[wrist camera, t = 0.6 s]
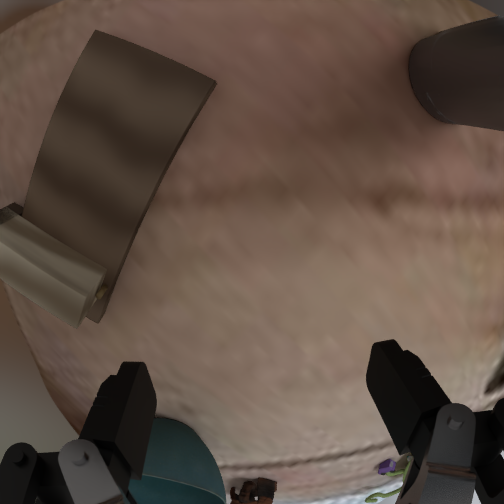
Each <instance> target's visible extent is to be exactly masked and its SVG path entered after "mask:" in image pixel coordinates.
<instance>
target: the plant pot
mask: <svg viewBox="0 0 504 504" xmlns="http://www.w3.org/2000/svg"><path fill="white" fill-rule="evenodd" d="M128 488H129V490H130V491H131V493H132V494H133V496H134V497H135V499H136V501H137V502H138V504H226V494H225V488H224V484H223V480H222V476H221V473H220V471H219V468H218V466H217V463H216V461H215V459H214V457H213V456H212V454H211V452H210V451H209V449H208V448H207V446H206V445H205V444H204V442H203V441H202V440H201V439H200V437H199V436H198V435H197V434H196V433H195V432H194V431H193V430H192V429H191V428H190V427H188V426H187V425H185V424H183V423H180V422H178V421H175V420H171V419H165V418H154V420H153V425H152V429H151V434H150V439H149V443H148V448H147V453H146V458H145V463H144V468H143V473H142V478H141V480H133V479H130V482H129V487H128Z"/></svg>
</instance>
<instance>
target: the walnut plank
mask: <svg viewBox="0 0 504 504" xmlns="http://www.w3.org/2000/svg"><path fill="white" fill-rule="evenodd" d="M216 85H217V83H216V81H215V80H213V79H211V78H209V77H207V76H205V75H203V74H201V73H199V72H197V71H195V70H193V69H191V68H189V67H187V66H185V65H183V64H180V63H178V62H176V61H174V60H172V59H169V58H167V57H165V56H163V55H160V54H158V53H156V52H153V51H151V50H148V49H146V48H144V47H141V46H139V45H136V44H134V43H131V42H128V41H126V40H123V39H121V38H118V37H115V36H112V35H109V34H107V33H104V32H101V31H98V30H95V31H94V33H93V35H92V36H91V38H90V40H89V41H88V43H87V45H86V47H85V48H84V50H83V52H82V54H81V56H80V57H79V59H78V61H77V63H76V65H75V67H74V69H73V71H72V73H71V75H70V77H69V79H68V81H67V83H66V85H65V88H64V90H63V92H62V94H61V96H60V99H59V101H58V103H57V106H56V108H55V110H54V113H53V115H52V118H51V120H50V123H49V126H48V128H47V131H46V134H45V136H44V139H43V142H42V145H41V148H40V151H39V154H38V157H37V160H36V163H35V167H34V170H33V174H32V177H31V181H30V184H29V188H28V192H27V196H26V200H25V204H24V209H23V213H22V217H23V218H24V219H26V220H27V221H29V222H30V223H32V224H33V225H35V226H36V227H38V228H39V229H41V230H42V231H44V232H46V233H47V234H49V235H50V236H52V237H54V238H55V239H57V240H58V241H60V242H62V243H63V244H65V245H67V246H68V247H70V248H72V249H73V250H75V251H77V252H78V253H80V254H82V255H83V256H85V257H87V258H88V259H90V260H92V261H94V262H95V263H97V264H99V265H101V266H102V267H104V268H106V269H107V272H106V274H105V277H104V280H103V283H102V285H103V284H105V285H107V286H108V289H107V290H106V292H105V293H104V295H103V296H102V298H101V299H97V300H96V301H95V303H94V304H93V306H92V307H91V309H90V310H89V312H88V313H87V315H86V316H85V317H87V318H89V319H90V320H92V321H94V322H96V323H99V322H100V320H101V318H102V317H103V315H104V313H105V311H106V308H107V305H108V302H109V300H110V297H111V294H112V292H113V289H114V286H115V284H116V281H117V279H118V276H119V274H120V271H121V269H122V266H123V264H124V262H125V259H126V257H127V254H128V252H129V250H130V247H131V245H132V243H133V240H134V238H135V236H136V234H137V231H138V229H139V227H140V225H141V223H142V220H143V218H144V216H145V214H146V212H147V210H148V208H149V206H150V203H151V201H152V199H153V197H154V195H155V193H156V191H157V189H158V187H159V185H160V183H161V181H162V179H163V177H164V175H165V173H166V171H167V170H168V168H169V166H170V164H171V162H172V160H173V158H174V156H175V155H176V153H177V151H178V149H179V147H180V145H181V144H182V142H183V140H184V138H185V136H186V135H187V133H188V131H189V129H190V128H191V126H192V124H193V123H194V121H195V119H196V117H197V116H198V114H199V112H200V111H201V109H202V107H203V106H204V104H205V102H206V101H207V99H208V98H209V96H210V94H211V93H212V91H213V90H214V88H215V86H216ZM102 285H101V287H102Z"/></svg>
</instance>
